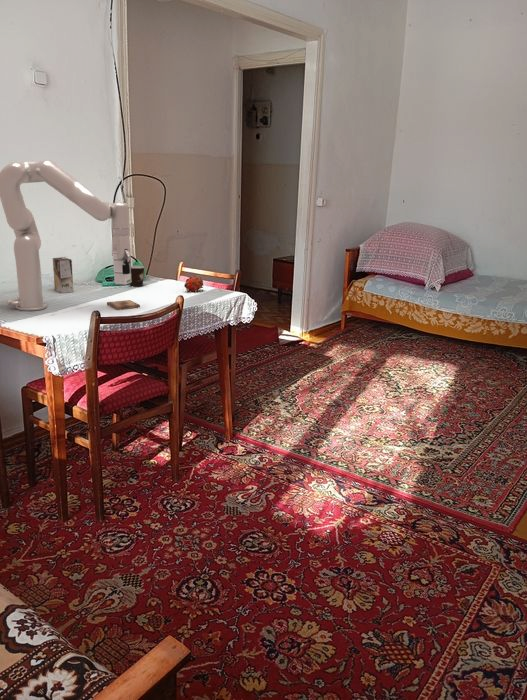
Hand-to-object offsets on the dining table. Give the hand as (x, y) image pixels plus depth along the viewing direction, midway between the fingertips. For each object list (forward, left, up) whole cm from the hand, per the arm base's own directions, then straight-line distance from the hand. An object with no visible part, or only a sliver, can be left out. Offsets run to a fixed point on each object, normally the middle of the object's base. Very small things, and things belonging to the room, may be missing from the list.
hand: (122, 272), depth 253 cm
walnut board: (0, 0, -15) cm, 15 cm away
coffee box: (-13, +43, -16) cm, 48 cm away
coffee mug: (+23, +41, -16) cm, 50 cm away
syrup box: (0, 0, -5) cm, 5 cm away
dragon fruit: (+45, +16, -16) cm, 50 cm away
